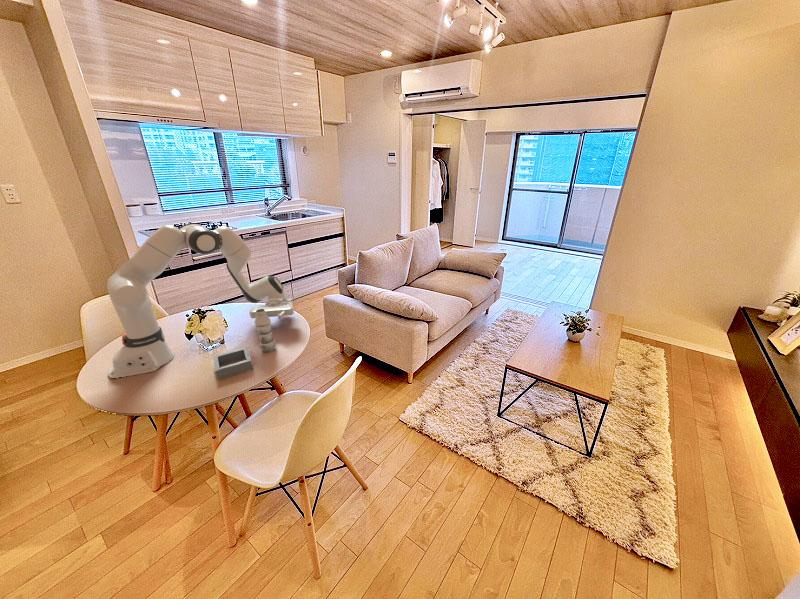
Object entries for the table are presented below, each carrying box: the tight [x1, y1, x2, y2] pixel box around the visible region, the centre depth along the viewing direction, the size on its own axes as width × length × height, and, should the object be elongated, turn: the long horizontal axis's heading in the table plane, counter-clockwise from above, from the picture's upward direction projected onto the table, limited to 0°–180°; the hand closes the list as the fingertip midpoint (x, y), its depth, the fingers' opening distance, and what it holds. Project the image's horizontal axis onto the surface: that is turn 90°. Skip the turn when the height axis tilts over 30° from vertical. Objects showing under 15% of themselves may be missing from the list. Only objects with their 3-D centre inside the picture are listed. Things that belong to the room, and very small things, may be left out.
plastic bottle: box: [254, 309, 277, 353], centre depth 141 cm, size 6×7×20 cm
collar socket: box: [212, 346, 254, 381], centre depth 133 cm, size 13×12×4 cm
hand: (269, 318), depth 150 cm, fingers open, 8 cm apart
